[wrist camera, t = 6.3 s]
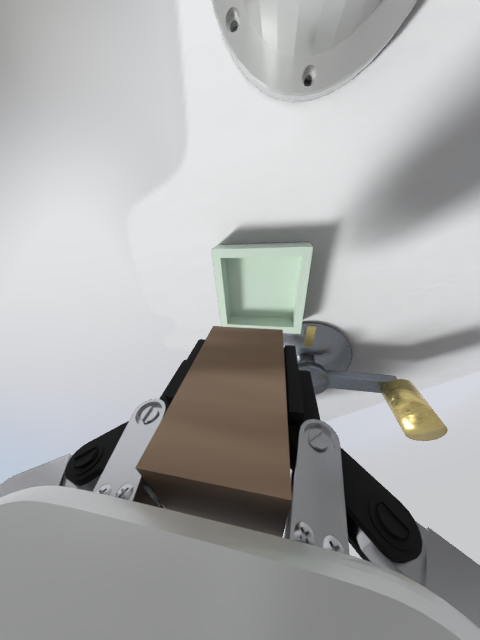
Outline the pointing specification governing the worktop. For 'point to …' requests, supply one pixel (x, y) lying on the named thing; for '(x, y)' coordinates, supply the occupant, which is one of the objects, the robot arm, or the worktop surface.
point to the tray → (262, 284)
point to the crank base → (320, 346)
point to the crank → (397, 393)
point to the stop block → (227, 435)
